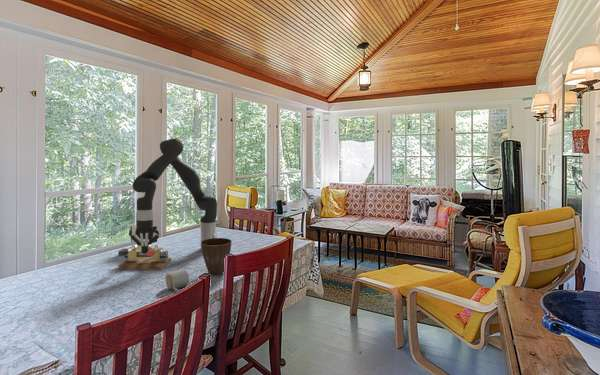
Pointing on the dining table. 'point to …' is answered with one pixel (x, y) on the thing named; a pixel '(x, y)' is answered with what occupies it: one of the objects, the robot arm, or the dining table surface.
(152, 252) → the red lever
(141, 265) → the base board
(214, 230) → the robot arm
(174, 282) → the ceramic mug
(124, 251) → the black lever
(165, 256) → the pipe manifold
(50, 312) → the dining table surface
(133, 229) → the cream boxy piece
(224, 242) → the plant pot
